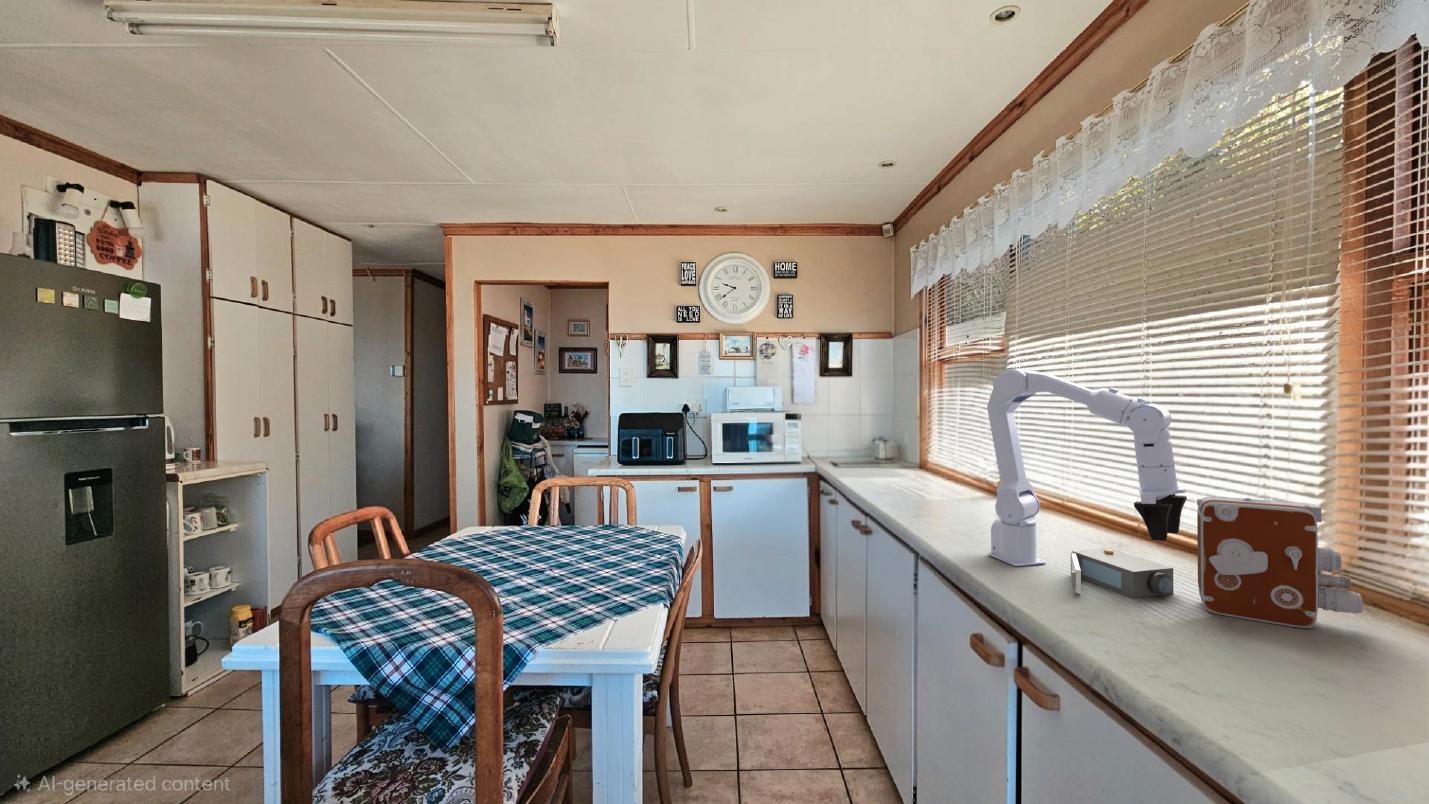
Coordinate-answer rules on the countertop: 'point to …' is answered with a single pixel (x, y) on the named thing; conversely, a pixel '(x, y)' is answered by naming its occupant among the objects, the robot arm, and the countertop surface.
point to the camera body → (1125, 573)
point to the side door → (1075, 573)
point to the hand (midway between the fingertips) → (1165, 536)
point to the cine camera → (1267, 562)
